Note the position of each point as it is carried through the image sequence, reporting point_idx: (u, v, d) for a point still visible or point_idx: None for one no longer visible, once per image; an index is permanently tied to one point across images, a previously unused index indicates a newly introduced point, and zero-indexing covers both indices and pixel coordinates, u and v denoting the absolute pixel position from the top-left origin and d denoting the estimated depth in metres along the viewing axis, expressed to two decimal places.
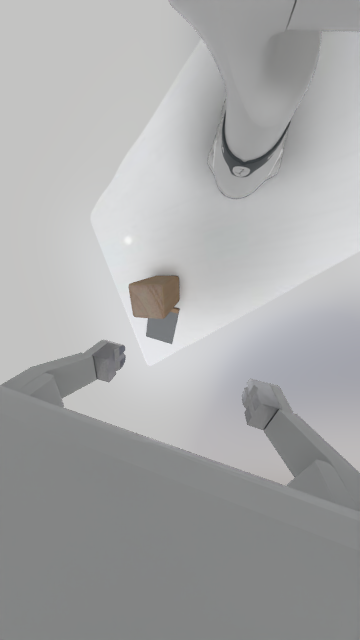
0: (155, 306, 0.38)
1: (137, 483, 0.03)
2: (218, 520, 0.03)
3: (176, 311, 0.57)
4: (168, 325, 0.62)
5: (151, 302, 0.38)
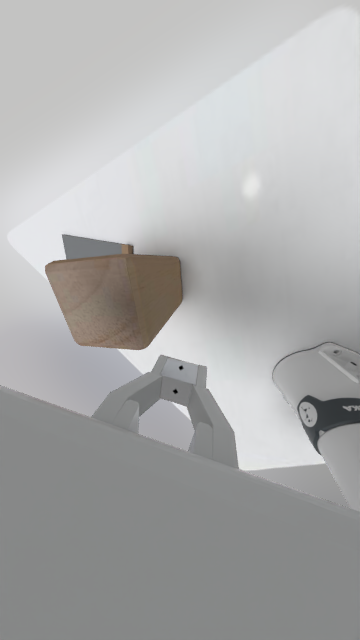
0: (93, 332, 0.16)
1: (137, 483, 0.03)
2: (219, 520, 0.03)
3: None
4: None
5: (98, 324, 0.15)
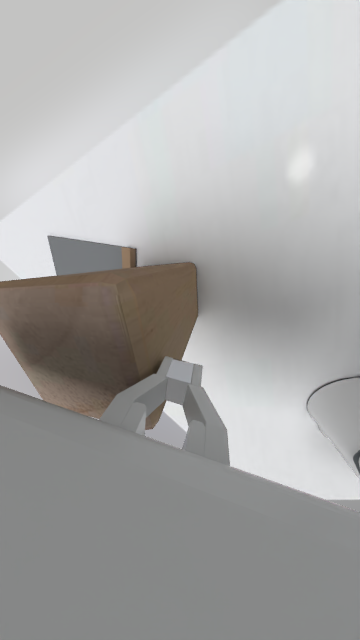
0: (69, 398, 0.09)
1: (137, 483, 0.03)
2: (218, 520, 0.03)
3: None
4: None
5: (74, 389, 0.09)
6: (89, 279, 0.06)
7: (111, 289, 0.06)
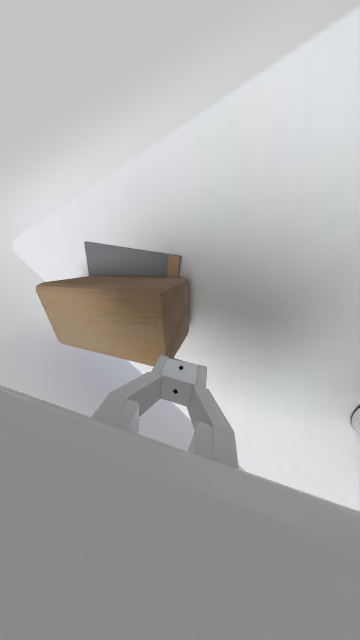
0: None
1: (137, 483, 0.03)
2: (218, 521, 0.03)
3: None
4: None
5: None
6: None
7: None
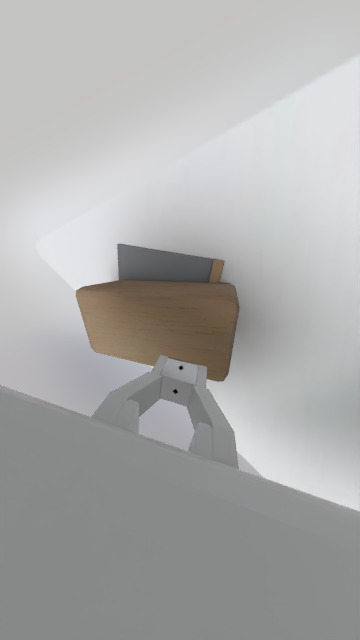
0: None
1: (137, 483, 0.03)
2: (218, 521, 0.03)
3: None
4: None
5: None
6: None
7: None
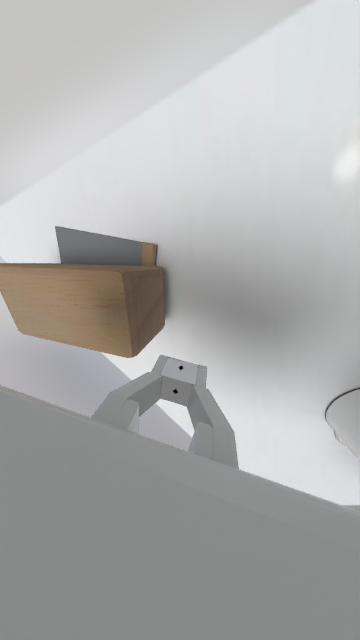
0: None
1: (137, 483, 0.03)
2: (219, 520, 0.03)
3: None
4: None
5: None
6: None
7: None
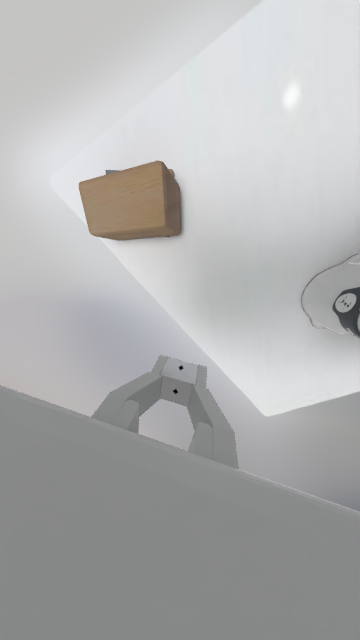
0: None
1: (137, 483, 0.03)
2: (218, 521, 0.03)
3: None
4: None
5: None
6: None
7: None
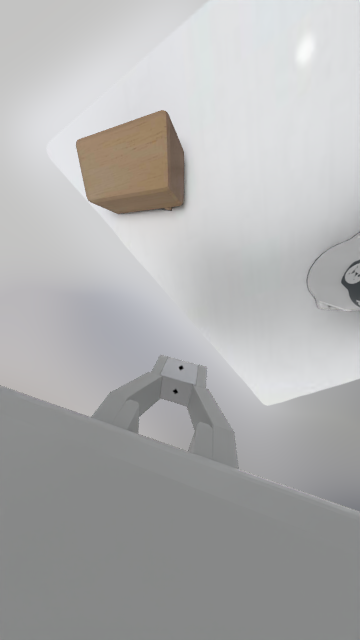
0: None
1: (137, 483, 0.03)
2: (218, 520, 0.03)
3: None
4: None
5: None
6: None
7: None
